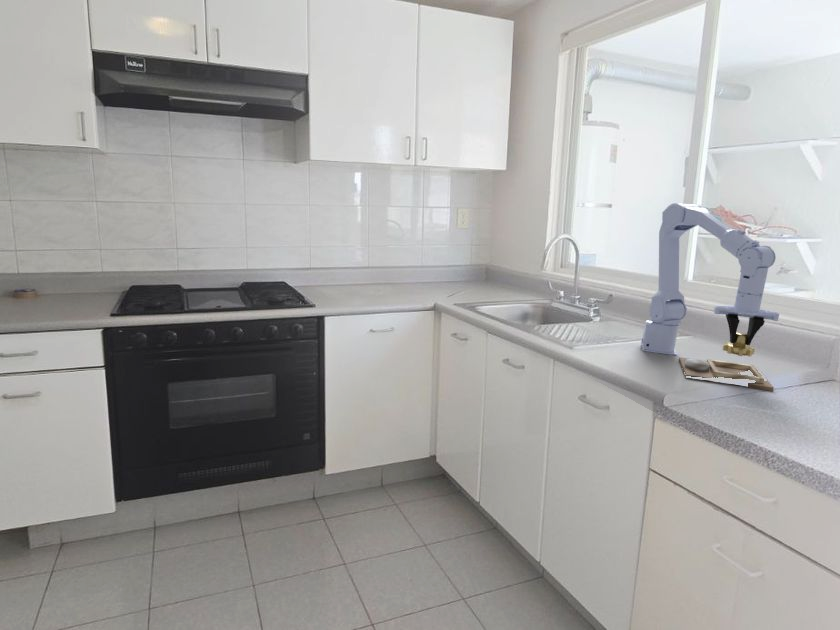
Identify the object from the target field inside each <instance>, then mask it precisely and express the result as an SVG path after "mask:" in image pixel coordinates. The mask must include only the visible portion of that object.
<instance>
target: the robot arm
mask: <svg viewBox="0 0 840 630" xmlns="http://www.w3.org/2000/svg"><path fill="white" fill-rule="evenodd" d="M661 215H662V216H661V217H662V218H661V220H662V221H661V226H660V228H659V232H658V290H657V291H656V293H654V294H653V295H652V297H651V303H650V305H649V308H648V314H649V317H650V320H648V319H647V320H645V322H644V326H643V327H644V328H643V334H642V337H641V341H640V342H641V343H640V344H641V349H642V351H643V352H647V353H657V354H662V355H663V354H665V355H668V356H669V355H670V356H677V355H678V353H677V351H676V343H677V337H678V330H679V325H680V324H681V321H682V320H683V319H685V318H686V316H687V313H688V312H687V311H688V308H687V305H686V302H685V296H684V294H683V293H682V292H681V291H680V290H679V285H680V280H679V279H680V238H681V237H682V236H683V235H684V234H685V233H686V232H687V231H689V230H691V229H694V228H695V227H697V226H698V227H700V228H702V229H703V230H705V231H707V232H708V233H709V234H711V235H712V236H714V237H716V238H717V239H719V240H720V247H722V248H723V249H724V250H726V252H728V253H730V254H731V255H732V256H733V257H735V259H737V260H738V264H739V265H740V276H739V281H738V287H737V291H736V297H735V302H734V306H731V305H730V306H727V305H714V307H713V309H714V310H713V313H714V314H715V315H725V318H726V321H727V324H728V329H729V343H735V338H736V332H738V331H737V329H738V327H739V325H740V322H741V321H740V319H739V317H744V318H745V317H746V318H749V319H748V327H747V333H746V334H748V338H747V342H746V345H749V346H750V345H751V343H752V341H753V339H754V337H755V336H756V334H757V333H758V331H759V330H760V329H761V328H762V327H763V325H764V324H765V323H766V322H765V320H770V321H775V322H778V321H779V316H780V313H779V312H777V311H770V310H762V309H761V304H762V300H763V295H764V292H765V291H764V289H765V285H766V281H767V276H768V271H769V268H770V267H772V266H773V265H774V263H775V262H776V253H775V251H774V250H773V248H771V246H768V245H760V242H759V240H754V239H752V238H750V237H749V236H748V235H747V234H746V231H745V230H744V229H740V228H739V229H738V228H734V229H729V227H727V226H726V225H725V224H724V223H723V222H721V220H719V219H718V218H716V217H715V216H714V215H712V213H710V212H709V210H708V209H707V208H705V207H703V206H702V205H700V204H698V203H693V204H691V203H690V204H689V203H677V202H676V203H675V202H673V203H671V204H669V205H667V207H666V208H665V209H664V210H663V211H662V213H661Z"/></svg>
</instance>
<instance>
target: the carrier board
mask: <svg viewBox="0 0 840 630" xmlns="http://www.w3.org/2000/svg"><path fill="white" fill-rule="evenodd" d="M706 359H707V360H703V359H697V358H687V357H680V356H679V357H678V362H679V365H680V364H681V365H680V367H681V366H682V367H681V369H682V368H683V370H684V372H685V374H686V376H691V377H702V378H712V377H713V378H714V377H715V378H716V377H717V378H718V377H724V378H732V379H749V380H755V381H756V382H755V383H748V387H747V388H749V389H755V390H763V391H768V392H774V386H773V385H772V384H771V382H770V381H769V380H768V379H767V381H764V378H763V377H762V375H761V374H760V373H759V372H758V370H757V369H756V368H757V367H755V366H754V365H753V364H746V363H739V362H730V361H725V360H724V361H723V360H719V359H718V360H717V359H709V358H706ZM683 370H682V371H683ZM748 370H750V371H751V372H752V373H753V375H754V376H748V375H741V374H740V372H745V371H748ZM684 372H683V373H684ZM738 373H739V374H738ZM755 376H756V377H755Z"/></svg>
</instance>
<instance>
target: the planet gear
mask: <svg viewBox="0 0 840 630" xmlns="http://www.w3.org/2000/svg"><path fill="white" fill-rule="evenodd" d="M747 338H748V334H747V333H745V332H738V331H736V338H735V343H731V342H730V341H726V342H725V343H723V345H722V351H723V352H724V351H725V352H726V353H727V354H730V355H731V354H733V355H736V356H738V357H743V356H747V357H750V358H751V357H752V356H753V355H754V354H755V353H754V352H755V347H751V346H750V345H746V342H747Z"/></svg>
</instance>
